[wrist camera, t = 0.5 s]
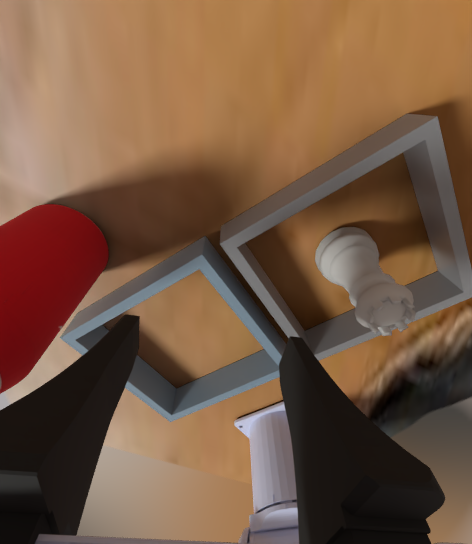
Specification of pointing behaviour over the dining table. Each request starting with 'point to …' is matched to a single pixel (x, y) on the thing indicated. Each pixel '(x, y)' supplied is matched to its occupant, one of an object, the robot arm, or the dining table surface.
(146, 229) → the dining table surface
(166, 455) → the dining table surface
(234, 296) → the slate bin
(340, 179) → the charcoal bin
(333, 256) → the rook chess piece
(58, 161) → the dining table surface
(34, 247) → the beverage can
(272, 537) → the robot arm
